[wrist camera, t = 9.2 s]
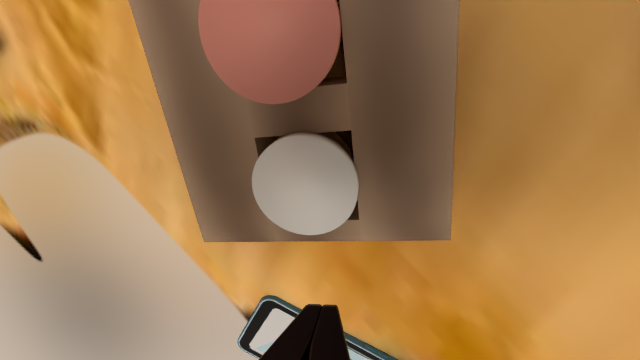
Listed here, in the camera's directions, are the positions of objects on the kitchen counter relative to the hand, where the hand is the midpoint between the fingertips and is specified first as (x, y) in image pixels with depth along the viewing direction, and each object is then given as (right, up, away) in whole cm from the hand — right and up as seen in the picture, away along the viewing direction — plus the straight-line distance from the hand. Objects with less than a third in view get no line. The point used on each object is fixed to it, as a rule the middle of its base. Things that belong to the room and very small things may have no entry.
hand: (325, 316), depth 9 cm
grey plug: (0, +5, +12) cm, 13 cm away
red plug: (-1, +11, +7) cm, 13 cm away
